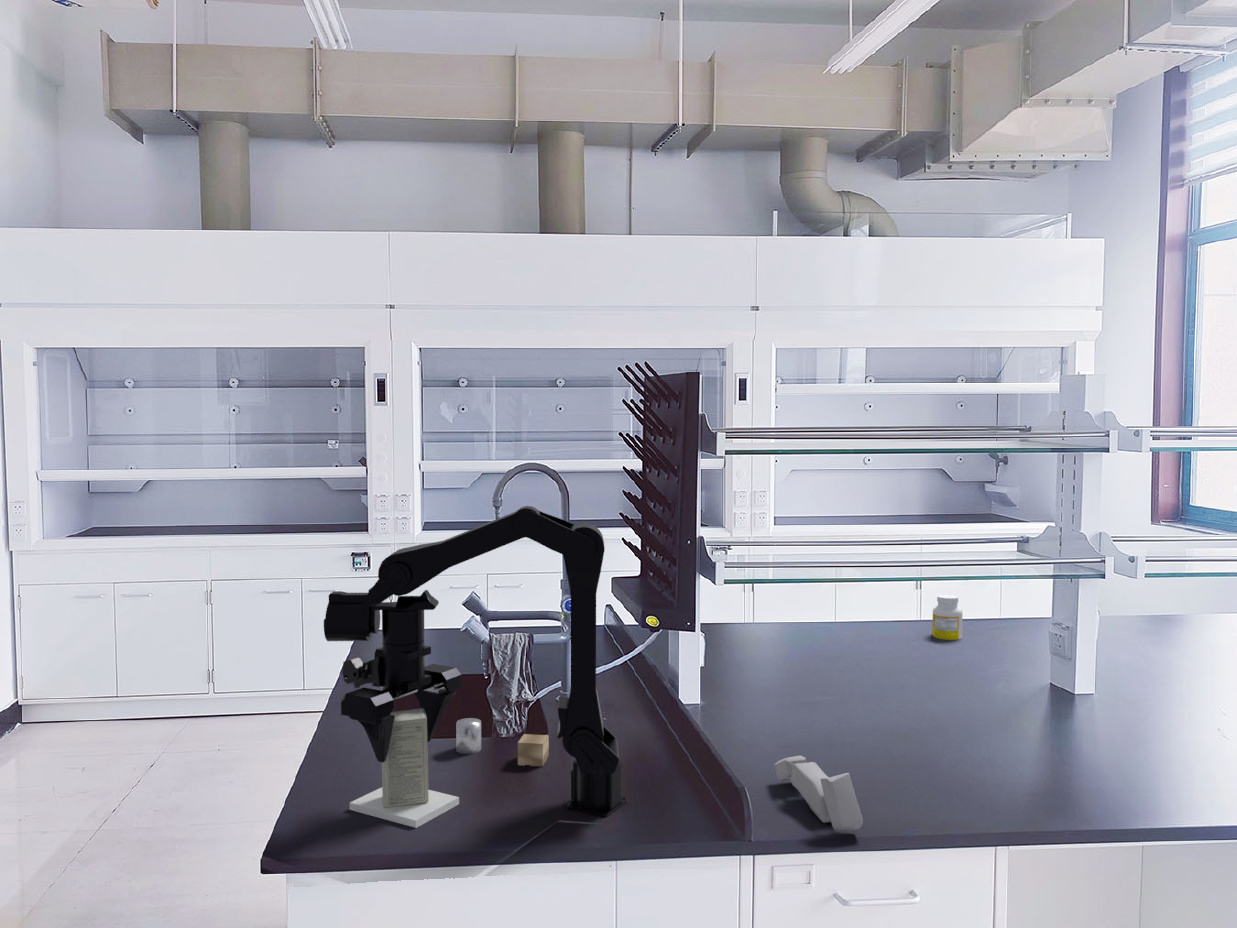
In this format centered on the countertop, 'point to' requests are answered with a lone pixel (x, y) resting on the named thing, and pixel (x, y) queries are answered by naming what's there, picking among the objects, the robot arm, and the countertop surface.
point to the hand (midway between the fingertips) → (404, 751)
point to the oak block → (533, 750)
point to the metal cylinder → (468, 735)
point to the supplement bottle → (947, 618)
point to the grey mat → (405, 808)
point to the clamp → (823, 792)
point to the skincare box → (406, 760)
